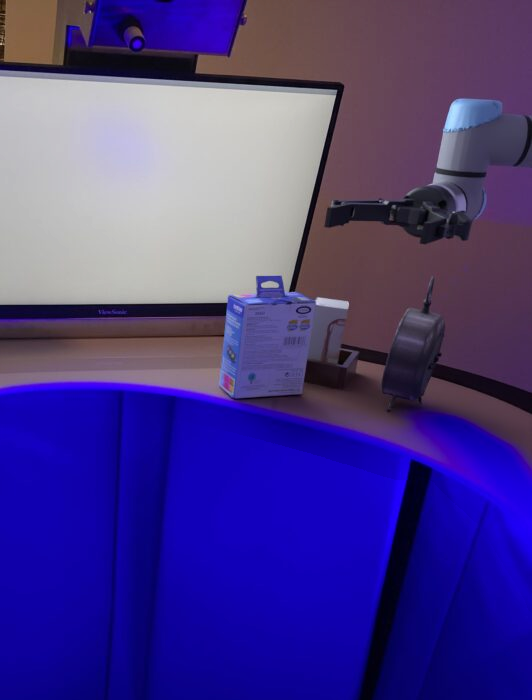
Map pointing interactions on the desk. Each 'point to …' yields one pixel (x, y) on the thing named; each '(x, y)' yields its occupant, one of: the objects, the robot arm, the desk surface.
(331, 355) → the white box
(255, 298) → the ink cartridge box
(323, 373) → the holder
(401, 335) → the alarm clock
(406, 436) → the desk surface
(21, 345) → the desk surface
